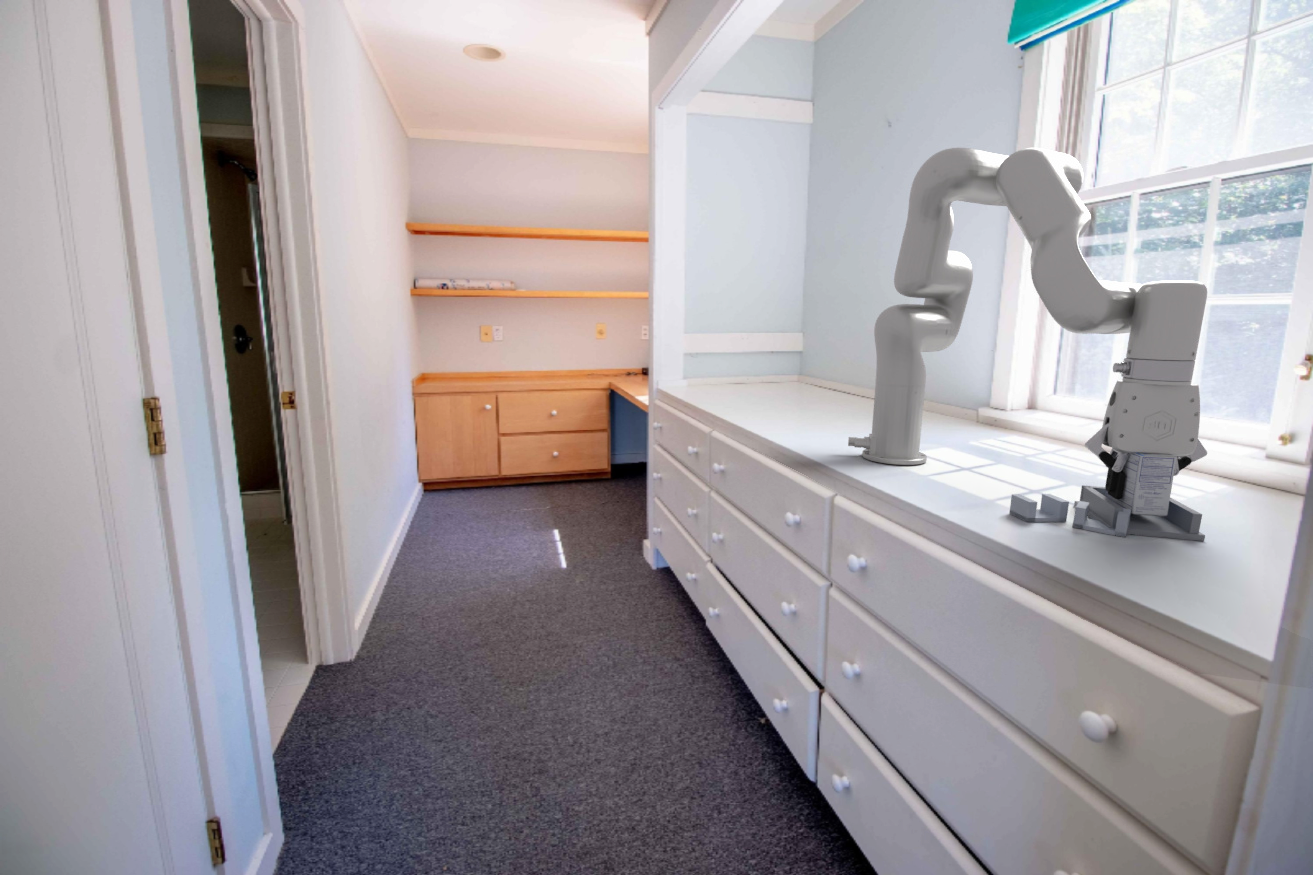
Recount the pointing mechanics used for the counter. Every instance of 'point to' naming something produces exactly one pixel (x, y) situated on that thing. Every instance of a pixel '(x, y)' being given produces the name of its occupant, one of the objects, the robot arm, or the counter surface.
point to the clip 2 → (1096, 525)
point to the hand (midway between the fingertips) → (1135, 497)
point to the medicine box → (1147, 484)
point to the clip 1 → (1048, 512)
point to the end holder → (1144, 517)
